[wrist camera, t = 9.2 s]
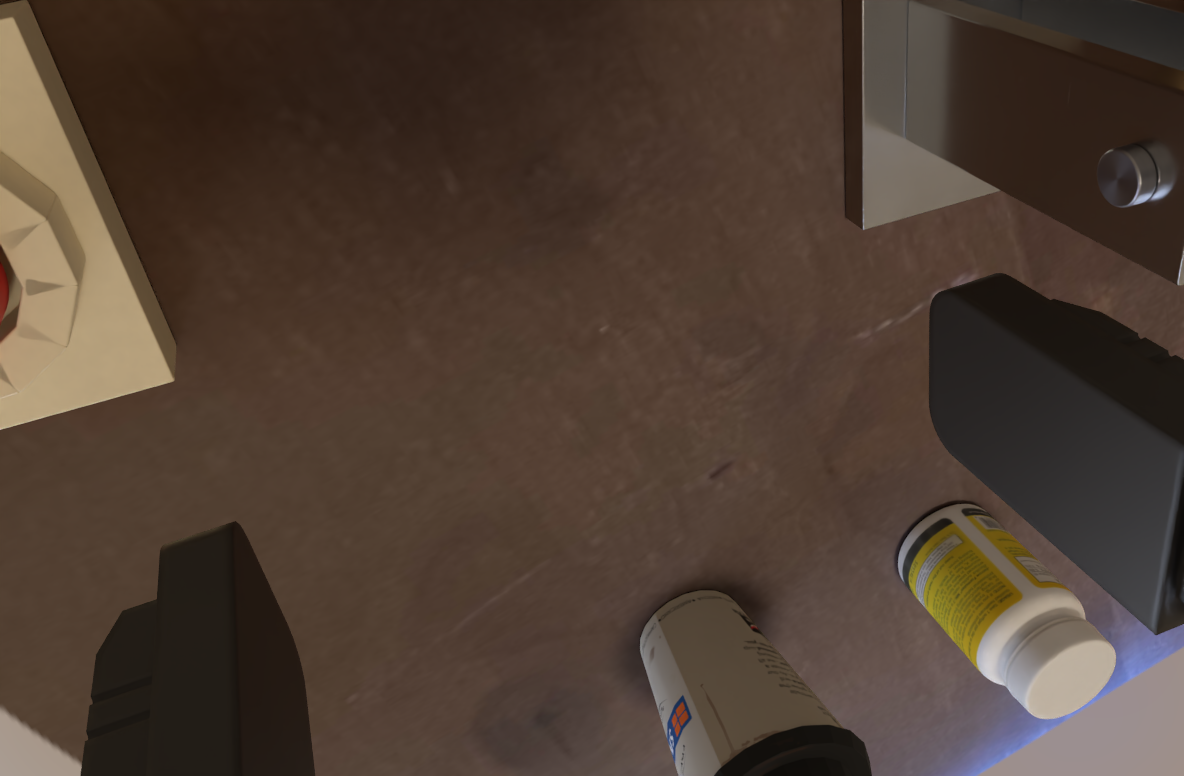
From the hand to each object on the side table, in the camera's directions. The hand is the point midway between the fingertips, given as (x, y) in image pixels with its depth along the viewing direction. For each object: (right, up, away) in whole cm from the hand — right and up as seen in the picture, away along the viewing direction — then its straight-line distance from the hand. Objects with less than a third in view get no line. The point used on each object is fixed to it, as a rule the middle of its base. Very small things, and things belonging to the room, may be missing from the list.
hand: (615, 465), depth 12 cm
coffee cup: (+4, -9, +32) cm, 34 cm away
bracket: (+11, +12, +22) cm, 28 cm away
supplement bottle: (+15, -6, +34) cm, 38 cm away
